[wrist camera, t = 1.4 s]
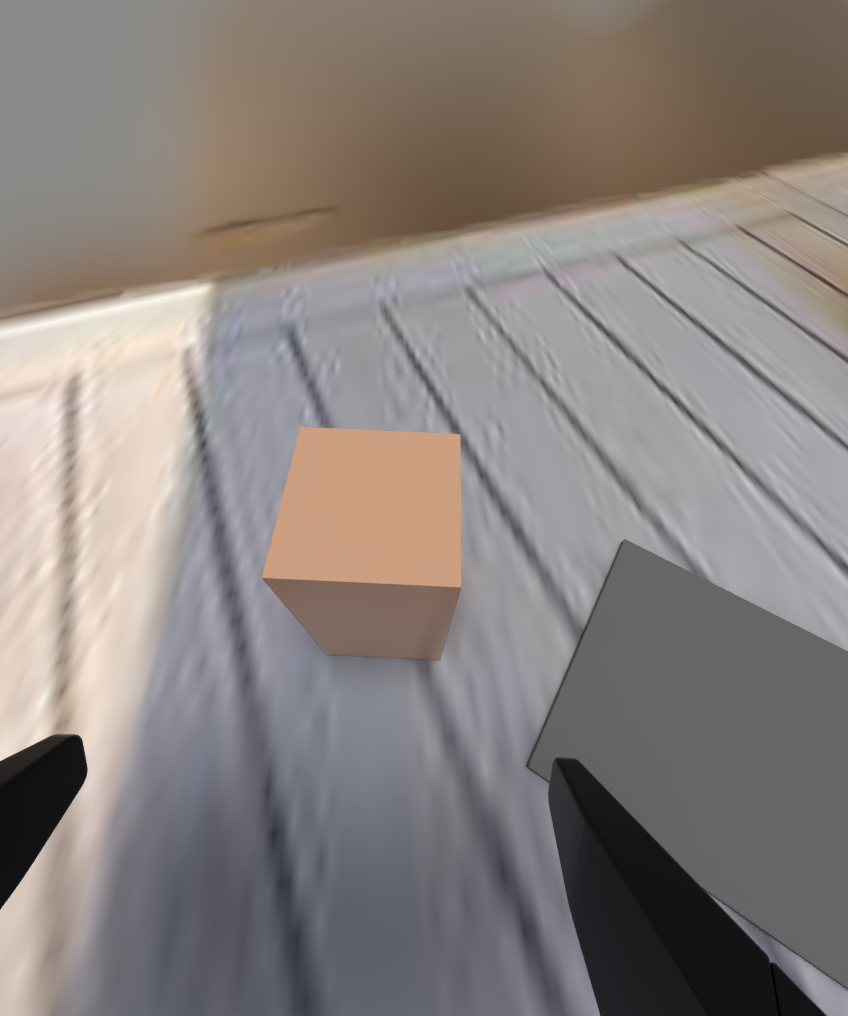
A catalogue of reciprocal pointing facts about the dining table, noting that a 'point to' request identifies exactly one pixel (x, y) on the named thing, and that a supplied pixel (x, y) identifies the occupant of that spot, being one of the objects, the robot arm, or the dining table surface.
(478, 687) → the dining table surface
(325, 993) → the dining table surface
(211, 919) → the dining table surface
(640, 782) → the rubber mat
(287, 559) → the tan rectangular block
